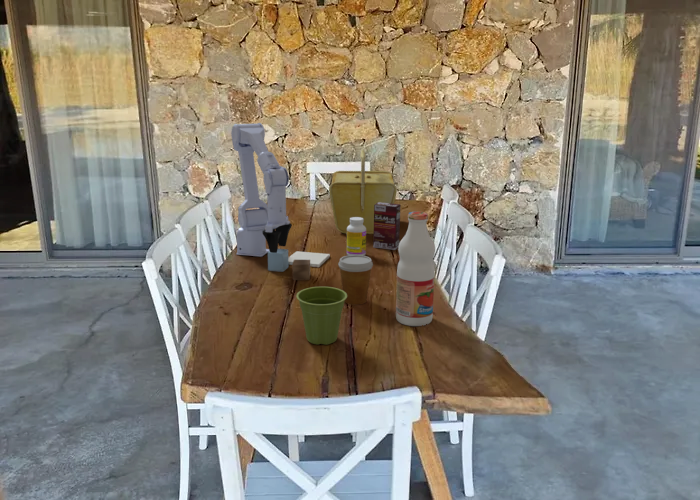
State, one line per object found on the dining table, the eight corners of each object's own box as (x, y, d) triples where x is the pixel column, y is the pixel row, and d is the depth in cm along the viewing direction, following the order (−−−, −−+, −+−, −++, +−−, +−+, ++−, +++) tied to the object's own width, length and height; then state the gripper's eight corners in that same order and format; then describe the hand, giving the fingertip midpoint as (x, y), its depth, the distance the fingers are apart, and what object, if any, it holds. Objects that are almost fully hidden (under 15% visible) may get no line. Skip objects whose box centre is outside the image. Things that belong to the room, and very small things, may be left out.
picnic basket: (395, 235, 242) (398, 157, 234) (328, 235, 242) (328, 157, 234) (392, 218, 270) (393, 147, 262) (331, 217, 270) (331, 147, 262)
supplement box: (372, 247, 226) (373, 204, 221) (377, 244, 230) (377, 201, 225) (395, 250, 222) (396, 206, 218) (399, 247, 227) (401, 203, 222)
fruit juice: (401, 310, 167) (405, 208, 160) (436, 316, 164) (441, 211, 156) (390, 323, 159) (393, 215, 151) (427, 329, 156) (432, 219, 148)
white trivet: (284, 264, 206) (283, 261, 206) (296, 254, 217) (296, 251, 217) (318, 267, 203) (318, 264, 203) (329, 256, 214) (329, 254, 214)
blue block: (268, 270, 200) (267, 252, 198) (274, 265, 205) (273, 248, 203) (282, 271, 199) (282, 253, 197) (288, 267, 203) (288, 249, 202)
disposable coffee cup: (376, 297, 177) (377, 256, 174) (366, 309, 169) (367, 266, 165) (344, 293, 180) (345, 253, 177) (333, 304, 172) (333, 262, 168)
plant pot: (288, 345, 146) (287, 299, 143) (309, 326, 157) (309, 284, 154) (335, 353, 142) (335, 307, 139) (354, 333, 153) (354, 290, 150)
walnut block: (292, 280, 191) (292, 264, 190) (294, 274, 196) (294, 259, 195) (309, 280, 191) (309, 264, 190) (310, 275, 196) (310, 259, 195)
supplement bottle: (363, 258, 213) (364, 221, 210) (344, 257, 215) (344, 220, 211) (367, 252, 220) (367, 216, 216) (348, 251, 221) (349, 215, 217)
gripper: (280, 212, 188) (281, 256, 192) (296, 203, 202) (297, 244, 206) (258, 211, 190) (260, 254, 194) (276, 202, 204) (277, 242, 207)
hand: (278, 249), depth 200 cm, fingers open, 7 cm apart
